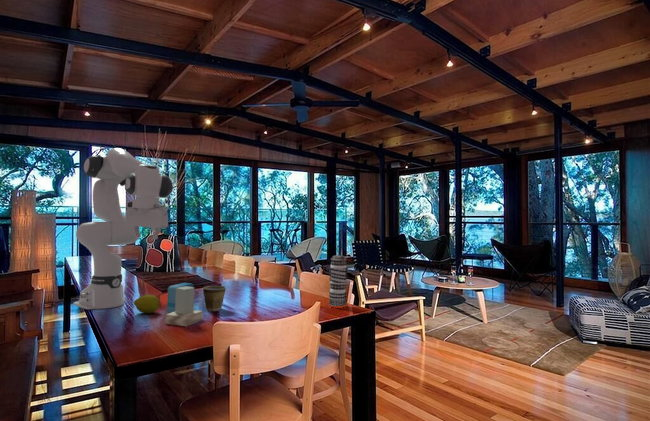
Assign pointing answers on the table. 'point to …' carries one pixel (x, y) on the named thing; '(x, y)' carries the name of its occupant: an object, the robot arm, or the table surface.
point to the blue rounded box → (174, 296)
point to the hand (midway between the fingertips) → (146, 238)
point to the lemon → (147, 303)
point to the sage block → (184, 300)
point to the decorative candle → (338, 281)
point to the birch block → (183, 318)
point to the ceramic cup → (214, 297)
